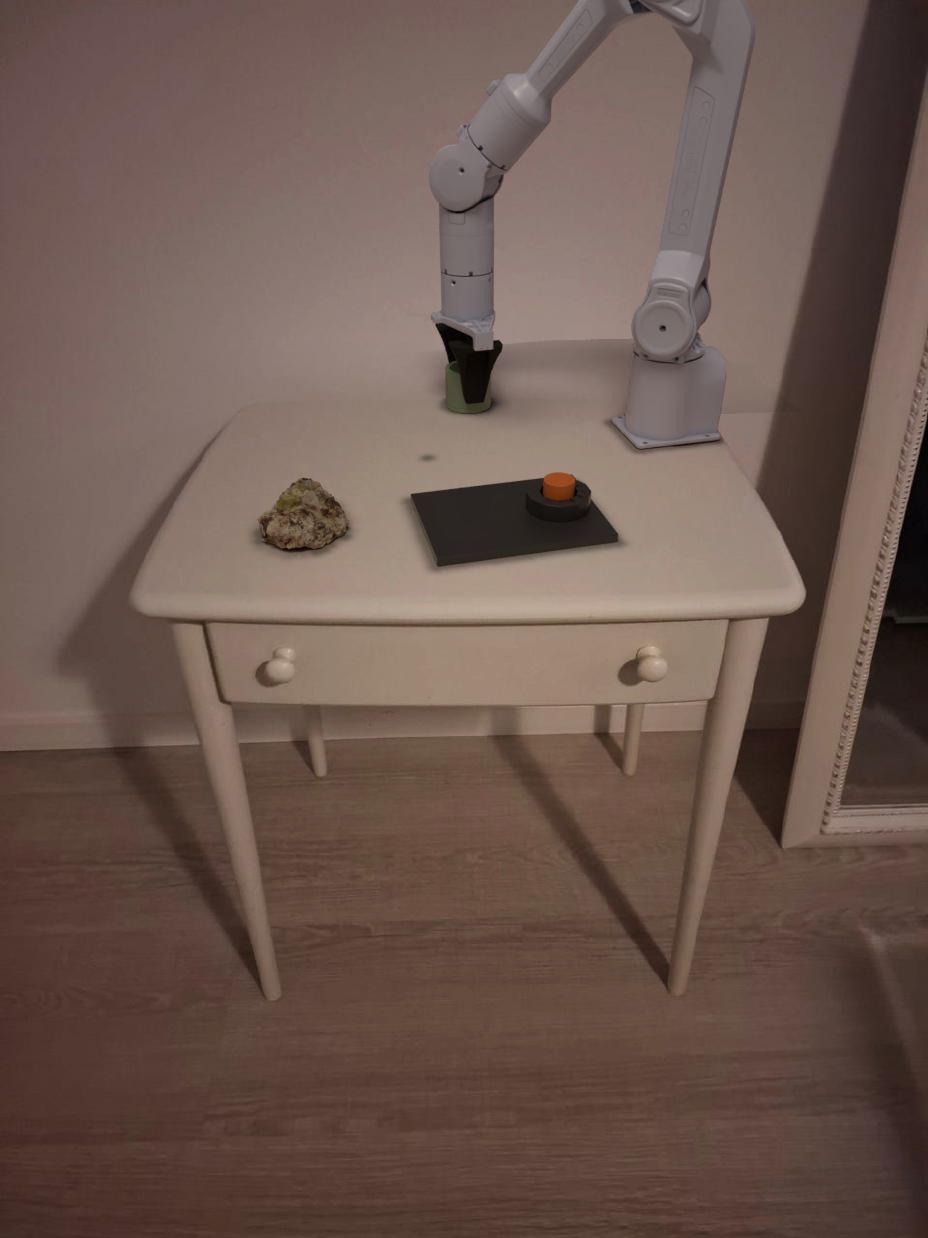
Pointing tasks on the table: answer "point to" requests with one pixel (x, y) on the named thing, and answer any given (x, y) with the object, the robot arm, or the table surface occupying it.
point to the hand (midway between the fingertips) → (468, 392)
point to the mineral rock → (303, 517)
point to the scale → (507, 521)
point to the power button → (558, 486)
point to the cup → (456, 395)
